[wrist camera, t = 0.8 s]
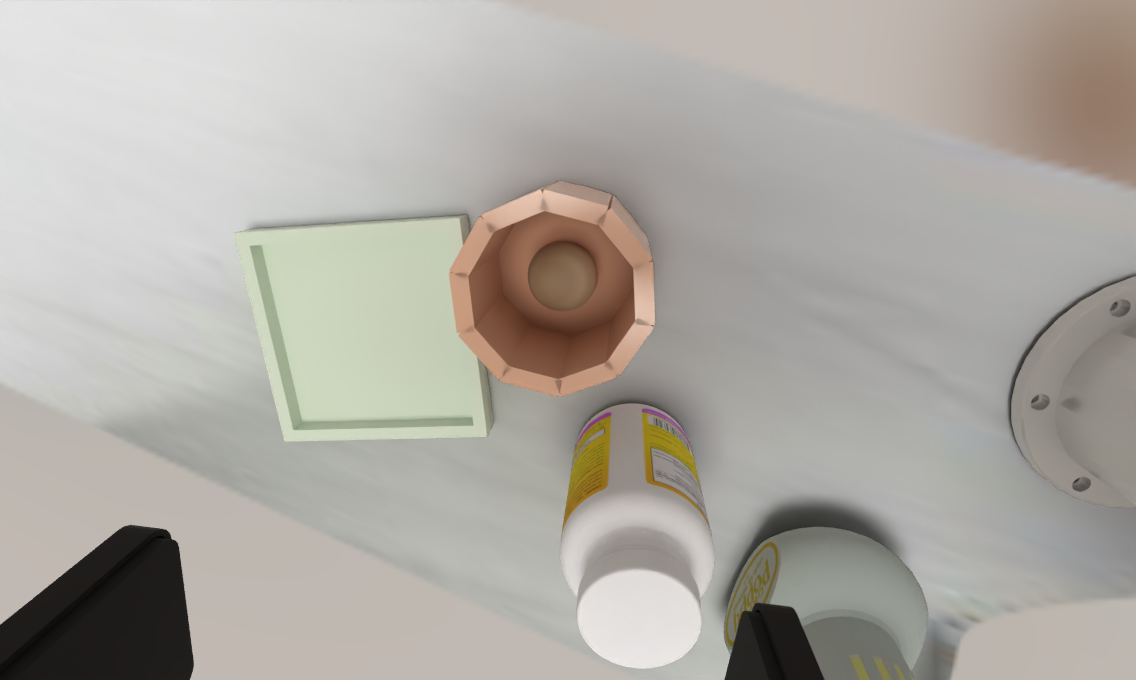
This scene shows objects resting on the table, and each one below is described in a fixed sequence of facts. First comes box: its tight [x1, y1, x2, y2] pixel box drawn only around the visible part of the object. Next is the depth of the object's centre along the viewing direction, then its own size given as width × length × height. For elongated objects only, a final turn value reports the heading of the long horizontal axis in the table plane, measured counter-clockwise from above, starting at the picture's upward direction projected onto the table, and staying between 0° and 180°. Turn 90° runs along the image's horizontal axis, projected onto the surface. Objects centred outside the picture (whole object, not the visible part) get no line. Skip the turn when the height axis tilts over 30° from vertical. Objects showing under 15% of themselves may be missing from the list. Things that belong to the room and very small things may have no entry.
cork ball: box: [528, 241, 598, 311], centre depth 29 cm, size 3×3×3 cm
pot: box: [449, 181, 655, 397], centre depth 28 cm, size 8×9×7 cm
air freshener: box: [724, 527, 928, 680], centre depth 31 cm, size 11×8×10 cm
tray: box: [234, 215, 493, 441], centre depth 32 cm, size 12×12×2 cm
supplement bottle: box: [560, 403, 715, 668], centre depth 28 cm, size 7×7×13 cm
